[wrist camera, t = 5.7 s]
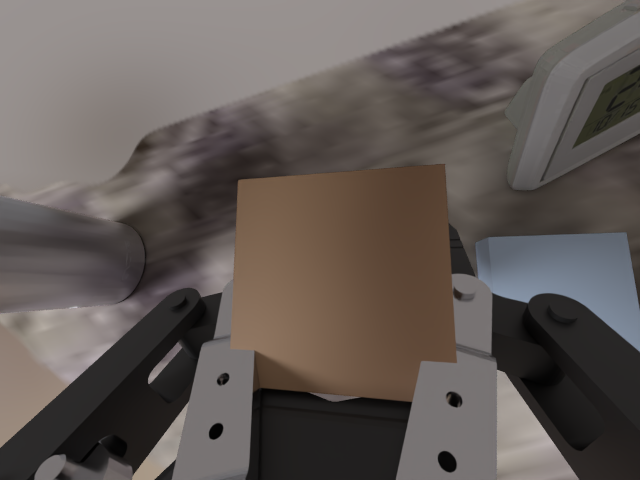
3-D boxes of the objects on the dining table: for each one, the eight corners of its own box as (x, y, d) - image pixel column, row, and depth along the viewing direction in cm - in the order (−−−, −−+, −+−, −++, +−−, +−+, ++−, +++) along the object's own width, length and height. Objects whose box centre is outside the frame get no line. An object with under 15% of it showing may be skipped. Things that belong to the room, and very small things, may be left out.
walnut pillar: (323, 318, 16) (228, 384, 6) (323, 239, 16) (238, 179, 6) (407, 321, 15) (459, 405, 5) (403, 237, 15) (444, 164, 6)
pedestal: (484, 345, 21) (499, 355, 18) (475, 242, 23) (487, 237, 20) (610, 351, 19) (648, 363, 17) (593, 239, 21) (626, 232, 18)
